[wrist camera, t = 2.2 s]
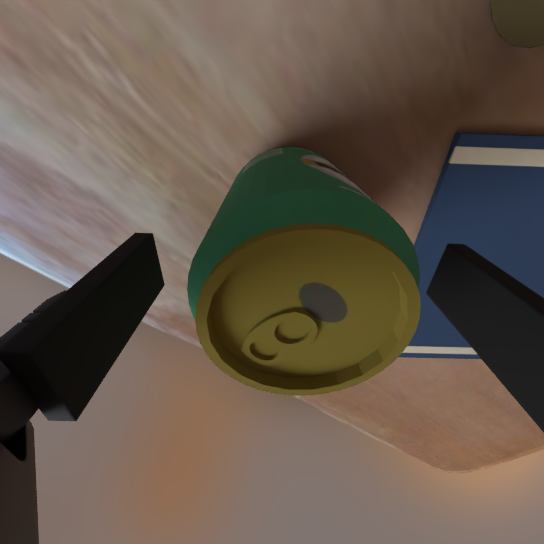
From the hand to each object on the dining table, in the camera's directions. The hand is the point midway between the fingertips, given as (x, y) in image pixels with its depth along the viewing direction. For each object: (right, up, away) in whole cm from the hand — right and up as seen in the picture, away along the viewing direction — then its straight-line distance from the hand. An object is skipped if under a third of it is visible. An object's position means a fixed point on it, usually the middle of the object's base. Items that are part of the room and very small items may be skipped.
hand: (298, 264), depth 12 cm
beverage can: (0, +4, +6) cm, 8 cm away
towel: (+18, 0, +9) cm, 20 cm away
